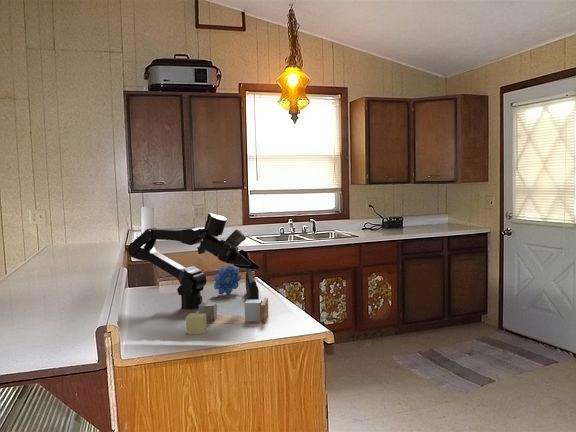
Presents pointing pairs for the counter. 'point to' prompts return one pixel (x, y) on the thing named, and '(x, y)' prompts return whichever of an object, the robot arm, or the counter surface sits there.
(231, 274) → the grapes
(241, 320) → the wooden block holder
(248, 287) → the magazine
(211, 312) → the grey cube-like block
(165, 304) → the counter surface
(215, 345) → the counter surface
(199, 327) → the pale yellow block
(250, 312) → the pale blue block
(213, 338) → the counter surface
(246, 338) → the counter surface
